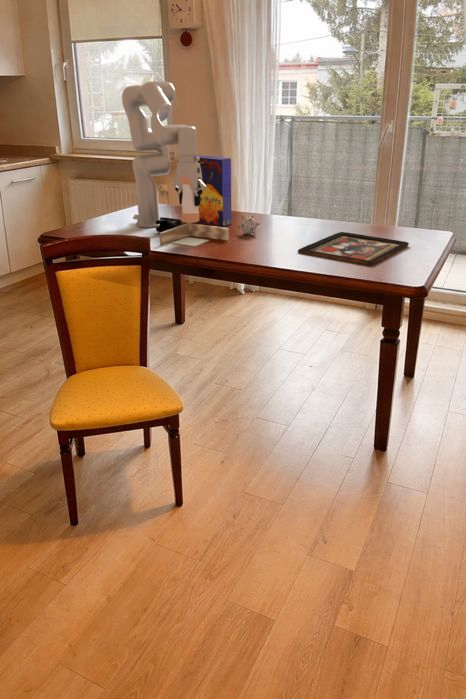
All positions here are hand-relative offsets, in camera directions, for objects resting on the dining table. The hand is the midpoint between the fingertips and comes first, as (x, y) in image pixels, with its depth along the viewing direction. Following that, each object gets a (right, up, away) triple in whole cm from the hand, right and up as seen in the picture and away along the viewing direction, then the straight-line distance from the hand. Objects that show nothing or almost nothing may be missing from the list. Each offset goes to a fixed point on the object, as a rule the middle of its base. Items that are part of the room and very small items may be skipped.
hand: (189, 204), depth 242 cm
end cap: (-11, -8, +21) cm, 25 cm away
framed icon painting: (+66, -20, -6) cm, 69 cm away
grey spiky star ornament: (+25, -9, +18) cm, 32 cm away
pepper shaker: (0, -6, +3) cm, 7 cm away
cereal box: (+7, +1, +41) cm, 42 cm away
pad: (0, -14, +7) cm, 16 cm away
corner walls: (+2, -14, +6) cm, 16 cm away
